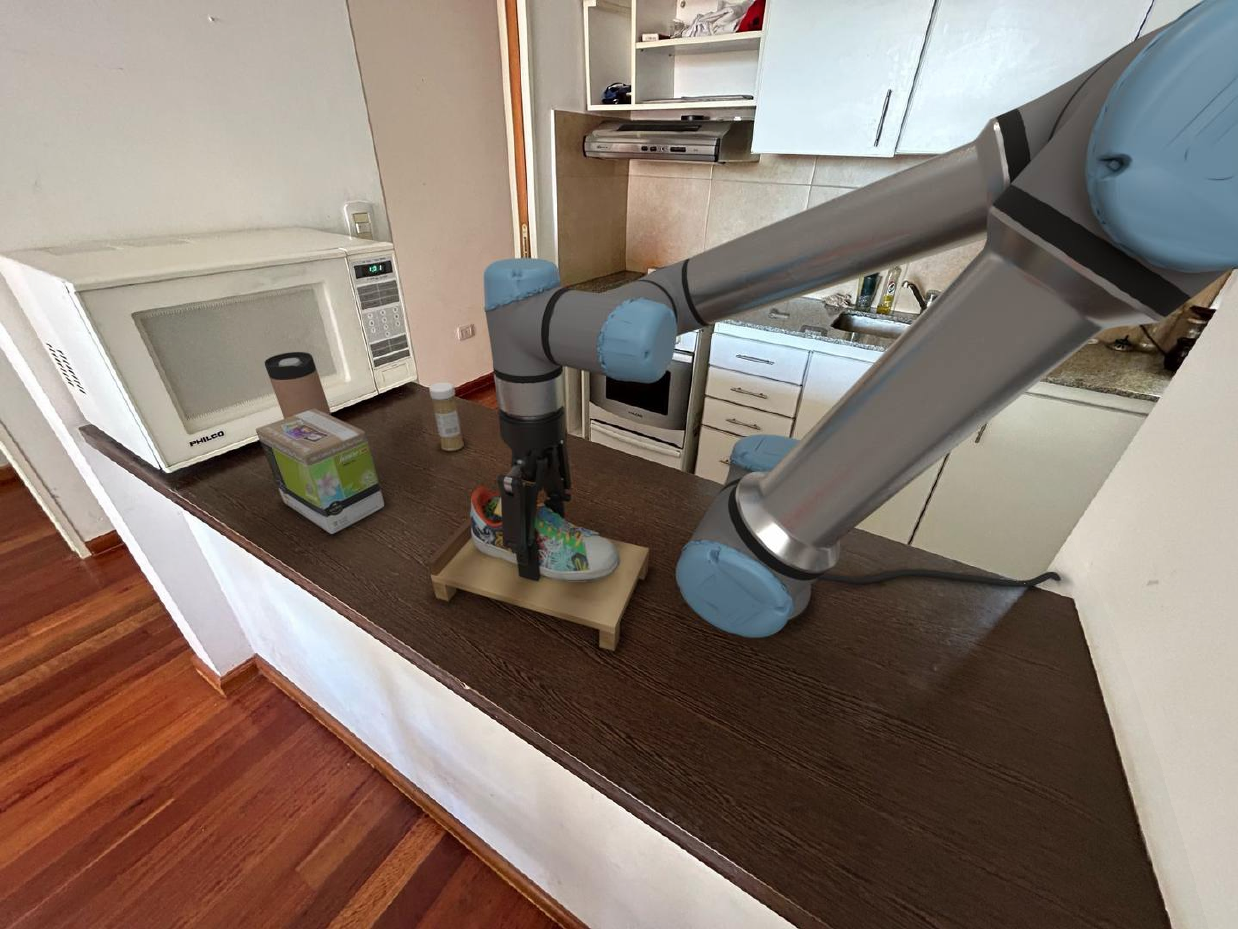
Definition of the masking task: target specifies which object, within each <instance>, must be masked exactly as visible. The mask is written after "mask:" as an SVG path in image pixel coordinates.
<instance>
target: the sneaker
mask: <svg viewBox="0 0 1238 929" xmlns="http://www.w3.org/2000/svg"><path fill="white" fill-rule="evenodd" d="M469 517H470V518H471V525H470V526H471V533H472V535H471V536H472V540H473V543H474V545H475V546H476V547H477V548H478V549H479V550H480V551H481V552H483V553H485V554H488V555H490V556H493V557H498V558H502V559H504V560H507V561H510V562H512V563H515V564H518V563H517V559H516V550H513V549H509V548H506V547H503V538H502V511H501V494H495V493H492V492H490V491H489V490H488V489H487V487H485V486H479V487H477V488H476V489H475V490H474V491H473V492H472V494H471V497H470V514H469ZM605 538H606V537H604V538H603V536H601V534H600V533H599V532H596V531H593V530H591V529H588V528H585V527H583V526H577V525H575V524H574V523H571V522H568V521H566V519H565V520H564V519H563V518H562V517H561V516H560V515H559V514H557V513H554V512H553V511H552V510H551V509H549V508H547V507H545V504H544V501H543V502H541V501H540V500H539V499H538V500H537V509H536V518H535V527H534V536H533V539H537V545H538V557H539V568H540V576H542V577H544V578H548V579H552V580H561V581H569V582H589V581H595V580H598V579H601V578H604V577H607V576H608V575H610V574H611V573H613V572H614V571H615V569H616V568H617V567H618V565H619V563H620V558H619V553H618V550H617V549H616V547H615V546H614V545H613V544H612V543H611V542H610V541H608V540H607V539H605Z"/></svg>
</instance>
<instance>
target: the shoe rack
mask: <svg viewBox="0 0 1238 929" xmlns="http://www.w3.org/2000/svg"><path fill="white" fill-rule="evenodd" d="M470 525H471V518H470V516H469V517H468V518H467V519H466V520H465V521H464V522H463V523H462V525H460V526H459V527H458V528H457V530H455V531H454V532H453V533H452V534H451V536H449V538H448V539H447V540H446V541H444V543H443V544H441V546H440V547H439V548H438V549H437V550H436V551H435V552H434V553H433V554H432V555H431V556H430V557H429V558H428V559H427V560H426V561H427V566H428V570H429V574H430V577H431V582H432V586H433V590H434V594H435V598H436V599H439V600H443V601H446V602H449V601H451V599H452V598H453V597H454V596H455V594H456V593H457V589H458V590H462V591H465V592H470V593H472V594H476V595H480V596H483V597H486V598H490V599H492V600H496V601H500V602H504V603H507V604H510V605H514V606H517V607H521V608H524V609H528V610H531V611H535V612H538V613H541V614H545V615H548V616H552V617H555V618H558V619H562V620H566V621H569V622H571V623H572V622H573V623H575V624H579V625H582V626H585V627H590V628H593V629H595V630H599V632H598V633H599V642H598V644H599V648H603V649H606V650H609V651H612V652H615V651H616V649H617V646H618V644H619V642H620V631H621V630H620V629H621V620H622V618H623V616H624V613H625V611H626V609H627V606H628V604H629V603H630V600H631V597H632V595H633V592H634V590H635V588H636V586H637V584H638V581H639V580H643V581H644V580H645V579H646V576H647V574H648V572H649V561H650V560H649V558H650V548H649V547H645V546H640V545H636V544H632V543H629V542H624V541H620V540H615V539H611V538H608V537H603V536H602V537H603V538H605V539H607V540H608V541H610V542H611V543H612V544H613V545H614V546H615V547H616V549H617V550H618V553H619V558H620V563H619V565H618V567H617V568H616V569H615V571H614V572H613V573H611V574H610V575H608V576H607V577H604V578H601V579H598V580H595V581H589V582H569V581H561V580H552V579H548V578H544V577H542V576H540V579H539V580H538V582H537V581H534V580H530V579H526V578H523V577H519V571H518V564H515V563H512V562H510V561H507V560H504V559H502V558H498V557H493V556H490V555H488V554H485V553H483V552H481V551H480V550H479V549H478V548H477V547H476V546H475V545H474V543H473V540H472V536H471V535H472V533H471V526H470Z"/></svg>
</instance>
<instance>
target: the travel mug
mask: <svg viewBox="0 0 1238 929" xmlns="http://www.w3.org/2000/svg"><path fill="white" fill-rule="evenodd" d="M264 367H265V369H266V372H267V375H268V378H269V380H270V383H271V386H272V389H273V391H274V394H275V397H276V400H277V403H278V405H279V408H280V411H281V414H282V416H283V419H285V418H288V417H291V416H294V415H297V414H300V413H303V412H306V411H308V410H311V409H317V410H319V411H321V412H324V413H326V414H328V415H330V416H332V412H331V409H330V405H329V403H328V400H327V396H326V393H325V390H324V387H323V384H322V381H321V378H320V375H319V373H318V369H317V366H316V363H315V360H314V357H313V355H312V354H311V353H309V352H304V351H292V352H291V351H290V352H283V353H280V354H276V355H273V356H271V357H268V358H267V359H266V360H265V361H264ZM332 417H333V416H332Z"/></svg>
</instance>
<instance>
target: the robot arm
mask: <svg viewBox="0 0 1238 929" xmlns="http://www.w3.org/2000/svg"><path fill="white" fill-rule="evenodd" d="M984 240H985V243H984V246H983V249H982V250H981V251H979V253H978V254H977V255H976V256H975V257H974V258H973V259H972V260H970V262H969V263H968V264H967V266H966V267H964V268H963V269H962V271H961V272H960V273H958V275H957V276H956V277H955V278H954V279H953V280H952V281H951V282H950V283H949V285H947V286H946V287H945V288H944V290H943V291H941V292H940V293H939V295H938V296H937V297H935V299H934V300H933V301H932V302H931V303H930V304H929V305H928V306H927V307H926V308H925V309H924V311H922V312H921V313H920V314H919V315H918V316H917V317H916V319H915V320H914V321H913V322H912V323H911V324H910V325H909V326H908V327H907V328H906V329H905V330H904V331H903V332H902V333H901V334H900V335H899V336H898V337H897V339H896V340H894V342H893V343H892V344H891V345H890V346H889V347H888V348H887V349H886V350H885V351H884V352H883V353H882V354H881V355H880V356H879V357H878V358H877V359H876V361H875V362H873V363H872V365H871V366H870V367H868V369H867V370H866V371H865V372H864V373H863V374H862V375H861V376H860V377H859V378H858V379H857V381H856V382H854V384H853V385H852V386H851V387H850V388H849V389H847V391H846V392H845V393H844V394H843V395H842V396H841V397H840V398H839V400H837V401H836V402H835V403H834V405H832V407H830V409H828V411H827V412H826V413H825V414H824V415H823V416H822V417H821V418H820V419H819V420H818V421H817V422H816V423H815V424H814V425H813V426H812V428H811V429H810V430H809V431H808V432H807V433H806V434H804V436H803V437H802V438H801V439H797V438H793V437H789V436H786V435H785V436H784V435H779V434H765V433H764V434H750V435H747V436H744V437H742V438H740V439H738V440H737V441H736V442H735V443H734V444H733V447H732V450H731V454H730V455H729V456H728V457H729V458H728V460H729V467H728V468H729V470H728V472H727V476H726V479H725V481H724V483H723V484H722V486H721V487H720V490H719V491H718V493H717V494H716V497H715V498H714V499H713V501H712V503H711V504H710V506H709V508H708V509H707V511H706V512H705V513H704V516H703V517H702V519H701V521H700V522H699V524H698V525H697V527H696V529H695V530H694V533H693V534H691V537H690V539H689V540H688V542H687V543H686V544H685V545H684V546H683V547H682V549H681V553H680V557H679V559H678V561H677V564H676V567H675V581H676V583H677V586H678V587H679V591H680V594H681V596H682V597H683V598H682V599H684V601H685V602H686V604H687V605H688V606H689V607H690V608H691V610H692V611H694V612H695V614H696V615H698V616H699V617H700V618H702V619H703V620H704V621H705V622H707V623H708V624H710V625H712V626H714V627H715V628H717V629H719V630H721V631H724V632H726V633H728V634H734V635H738V636H740V637H744V638H754V639H755V638H756V639H757V638H765V637H770V636H772V635H774V634H777V633H778V632H780V631H781V630H782V629H783V628H784V627H787V626H788V625H792V624H794V623H795V622H797V621H798V620H799V619H801V617H803V615H804V614H805V612H806V611H807V609H808V606H809V603H810V599H811V595H812V584H813V583H814V582H816V581H819V580H820V581H829V582H838V583H844V584H850V585H851V584H852V585H866V584H868V585H869V584H875V583H879V582H883V581H888V580H891V579H895V578H901V577H930V578H940V579H946V580H947V579H948V580H955V581H962V582H964V581H965V582H972V583H981V584H988V585H994V586H995V585H996V586H1002V587H1012V588H1013V587H1014V588H1027V587H1034V586H1038V585H1040V584H1043V583H1045V582H1046V581H1048V580H1050V579H1052V580H1054V581H1057V582H1060V581H1061V580H1062V578H1061V576H1060V575H1059V573H1057V572H1055V571H1047V572H1044V573H1041V574H1040V575H1038V576H1035V577H1034V578H1031V579H1023V580H1021V579H1020V580H1017V579H1016V581H1013V580H1014V579H1005V578H1004V579H1003V578H997V577H996V578H995V577H989V576H982V575H975V574H965V573H964V574H963V573H957V572H956V573H955V572H947V571H941V570H940V571H939V570H932V569H931V570H930V569H900V570H893V571H890V572H889V571H888V572H885V573H881V574H877V575H872V576H866V577H865V576H864V577H854V576H853V577H852V576H846V575H840V574H832V573H827V572H828V571H830V570H831V569H832V568H833V567H835V566H836V564H837V563H838V562H839V559H840V556H841V542H840V539H842V538H843V537H845V536H846V535H847V534H848V533H849V532H851V531H852V530H853V529H855V528H856V527H857V526H859V524H861V523H862V522H864V521H865V520H866V519H867V518H868V517H870V516H871V515H872V514H874V513H875V512H876V511H878V510H879V509H880V508H881V507H882V506H884V505H885V504H886V503H888V502H889V501H890V500H891V499H892V498H894V497H895V496H896V495H897V494H899V493H900V492H901V491H902V490H904V489H906V487H908V486H909V485H910V484H912V483H913V482H914V481H915V480H916V479H918V478H919V477H920V476H922V475H923V474H924V473H925V472H926V471H928V470H929V469H930V468H932V467H934V465H936V464H937V463H938V462H939V461H941V460H942V459H943V458H944V457H946V456H947V455H948V454H949V453H951V452H952V451H953V450H955V449H956V448H957V447H959V445H961V444H963V442H965V441H966V440H967V439H968V438H969V437H971V436H972V435H974V434H975V433H976V432H977V431H978V430H980V429H981V428H982V427H983V426H985V425H986V424H987V423H989V422H990V421H991V420H993V419H994V418H995V417H996V416H997V415H999V414H1000V413H1001V412H1003V411H1004V410H1005V409H1006V408H1008V407H1009V406H1010V405H1012V403H1014V402H1015V401H1016V400H1017V399H1019V398H1020V397H1022V396H1023V395H1024V394H1025V393H1026V392H1028V391H1029V390H1030V389H1032V388H1033V387H1034V386H1035V385H1036V384H1038V383H1039V382H1041V381H1042V380H1043V379H1044V378H1045V377H1047V376H1048V375H1049V374H1050V373H1052V372H1053V371H1054V370H1056V369H1057V368H1058V367H1059V366H1061V365H1062V364H1063V363H1064V362H1066V361H1067V360H1068V359H1069V358H1071V357H1072V356H1074V354H1076V353H1077V352H1078V351H1080V350H1081V349H1082V348H1083V347H1084V346H1086V345H1087V344H1088V343H1089V342H1091V341H1092V340H1093V339H1095V338H1096V337H1097V336H1099V335H1100V334H1101V333H1103V332H1105V331H1107V330H1109V329H1112V328H1120V327H1121V328H1122V327H1130V326H1131V327H1132V326H1140V325H1149V324H1150V325H1151V324H1159V323H1161V322H1162V321H1163V320H1164V319H1166V318H1167V317H1169V316H1170V315H1171V314H1172V313H1174V312H1176V310H1178V309H1179V308H1181V307H1182V306H1183V305H1184V304H1186V303H1187V302H1189V301H1190V300H1192V299H1193V298H1195V297H1196V296H1198V295H1199V294H1200V293H1201V292H1202V291H1204V290H1205V289H1206V288H1208V287H1209V286H1211V285H1212V284H1213V283H1215V282H1216V281H1218V280H1219V279H1220V278H1221V277H1222V276H1224V275H1225V274H1227V273H1228V272H1229V271H1231V270H1238V0H1200V2H1198V3H1196V4H1194V5H1193V6H1192V7H1190V8H1189V9H1187V10H1185V11H1184V12H1182V13H1181V14H1180V15H1179V16H1178V17H1177V18H1176V19H1174V20H1172V21H1170V22H1168V23H1166V24H1164V25H1162V26H1160V27H1158V28H1155V29H1153V30H1152V31H1150V32H1148V33H1146V34H1143V35H1142V36H1139V37H1138V38H1136V39H1134V40H1133V41H1131V42H1130V43H1128V44H1126V45H1124V46H1123V47H1121V48H1120V49H1118V50H1117V51H1114V52H1113V53H1112V54H1110V55H1109V56H1108V57H1106V58H1104V59H1103V60H1101V61H1099V62H1098V63H1097V64H1095V65H1093V66H1091V67H1089V68H1088V69H1087V70H1085V71H1083V72H1082V73H1080V74H1078V75H1077V76H1075V77H1074V78H1072V79H1070V80H1068V81H1067V82H1065V83H1063V84H1060V85H1059V86H1057V87H1055V88H1053V89H1051V90H1050V91H1048V92H1046V93H1045V94H1043V95H1041V96H1039V97H1037V98H1035V99H1033V100H1031V101H1028V102H1026V103H1023V104H1022V105H1020V106H1017V107H1015V108H1013V109H1011V110H1009V111H1006V112H1004V113H1001V114H999V115H996V116H994V117H992V118H990V119H989V120H988V121H987V122H986V124H985V125H984V127H983V128H982V129H981V131H980V132H979V134H978V135H977V136H976V137H975V138H974V139H973V140H972V141H970V142H967V143H964V144H962V145H960V146H957V147H955V148H952V149H950V150H948V151H946V152H942V153H941V154H938V155H936V156H932V157H931V158H928V159H926V160H923V161H921V162H919V163H916V164H913V165H911V166H909V167H907V168H903V169H901V170H899V171H897V172H894V173H892V174H890V175H887V176H884V177H882V178H879V179H876V180H875V181H872V182H870V183H867V184H865V185H862V186H860V187H858V188H854V189H853V190H850V191H848V192H845V193H843V194H840V195H839V196H835V197H833V198H831V199H829V200H826V201H824V202H821V203H819V204H815V205H813V206H812V207H808V208H807V209H803V210H802V211H799V212H796V213H794V214H792V215H790V216H787V217H785V218H782V219H780V220H778V221H775V222H773V223H770V224H767V225H764V226H762V227H760V228H758V229H755V230H752V231H750V232H747V233H745V234H742V235H741V236H738V237H735V238H733V239H731V240H728V241H725V242H724V243H721V244H718V245H717V246H714V247H712V248H709V249H707V250H706V249H705V250H704V251H701V252H700V253H697V254H695V255H692V256H691V257H689V258H685V259H683V260H680V261H677V262H675V263H672V264H668V265H664V266H661V267H659V268H658V269H655V270H652V271H651V272H649V273H648V274H646V275H644V276H642V277H640V278H638V279H636V280H633V281H631V282H629V283H627V284H624V285H622V286H620V287H618V288H615V289H613V290H611V291H609V292H593V291H585V290H584V291H583V290H576V289H572V288H569V287H565V286H562V280H561V277H560V270H559V268H558V265H556V263H554V262H553V261H549V260H546V259H542V258H535V257H515V258H504V259H501V260H497V261H494V262H492V263H490V264H488V265H487V266H486V267H485V269H484V271H483V291H484V292H483V293H484V296H483V297H484V307H483V311H484V312H485V318H486V326H487V330H488V337H489V343H490V352H491V358H492V369H493V374H494V375H493V380H494V385H495V394H496V404H497V406H498V408H499V409H498V411H497V416H498V424H499V431H500V432H499V433H500V438H501V439H502V441H503V442H504V443H505V445H507V446H508V447H509V448H510V450H511V461H510V466H511V469H510V470H509V472H508V474H504V473H500V474H499V475H498V477H497V485H498V488H499V492H500V495H501V511H502V538H503V547H506V548H509V549H513V550H516V559H517V563H518V571H519V577H523V578H526V579H530V580H534V581H537V582H538V580H539V579H540V568H539V557H538V545H537V539H533V536H534V527H535V518H536V509H537V500H539V493H540V492H542V490H543V491H544V493H545V496H546V498H545V499H544V500H543V503H544V504H545V507H547V508H549V509H551V510H552V511H553V512H554V513H557V514H559V515H560V516H561V517H562V518H563V519H564V520H565V521H566V519H565V503H564V502H566V503H569V502H570V501H571V499H572V494H571V493H568V492H566V491H569V490H570V489H571V487H572V481H571V471H570V462H569V455H568V445H567V443H568V442H567V441H568V429H567V428H566V408H565V405H564V404H565V403H566V397H565V396H566V395H565V379H564V378H565V377H564V367H566V368H570V369H574V370H578V371H582V372H586V373H590V374H595V375H599V376H604V377H607V378H611V379H613V380H616V381H620V382H621V381H622V382H636V383H642V384H652V383H655V382H657V381H659V380H660V379H661V378H663V376H664V375H665V374H666V372H667V368H668V366H669V365H671V362H672V360H673V358H674V354H675V349H676V344H677V337H679V336H682V335H684V334H688V333H691V332H695V331H697V330H698V331H699V330H700V329H703V328H706V327H709V326H712V325H714V324H717V323H720V322H723V321H727V320H731V319H733V318H738V317H739V316H743V315H747V314H749V313H752V312H755V311H759V310H763V309H765V308H769V307H772V306H775V305H778V304H782V303H785V302H788V301H791V300H794V299H797V298H800V297H805V296H807V295H810V294H813V293H816V292H820V291H823V290H826V289H829V288H832V287H836V286H839V285H843V284H846V283H849V282H852V281H855V280H858V279H862V278H865V277H868V276H871V275H874V274H878V273H882V272H884V271H888V270H890V269H894V268H897V267H900V266H903V265H907V264H909V263H913V262H916V261H919V260H923V259H925V258H929V257H932V256H935V255H936V256H937V255H939V254H942V253H946V252H948V251H952V250H954V249H957V248H958V249H959V248H962V247H965V246H968V245H971V244H974V243H978V242H981V241H984ZM547 498H548V499H547ZM1017 581H1018V582H1017ZM1024 583H1025V584H1024Z"/></svg>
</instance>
